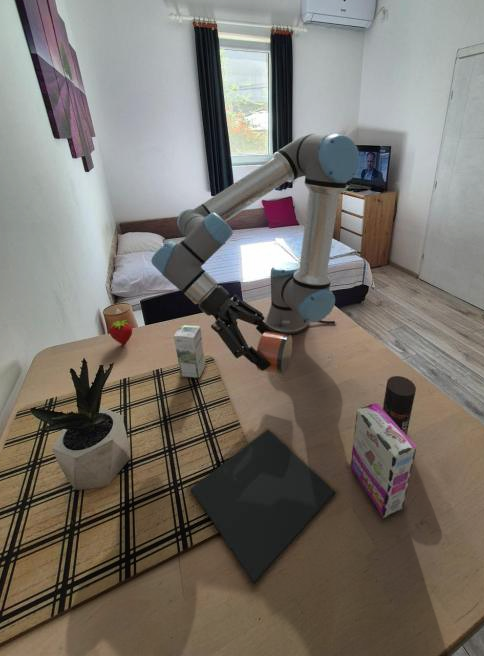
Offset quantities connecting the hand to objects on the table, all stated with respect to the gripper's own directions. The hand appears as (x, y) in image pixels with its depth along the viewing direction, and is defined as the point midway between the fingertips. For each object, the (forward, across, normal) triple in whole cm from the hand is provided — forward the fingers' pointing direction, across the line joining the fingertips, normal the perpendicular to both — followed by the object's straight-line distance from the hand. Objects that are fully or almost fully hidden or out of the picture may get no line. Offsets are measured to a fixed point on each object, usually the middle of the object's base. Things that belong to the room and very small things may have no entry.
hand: (271, 353), depth 83 cm
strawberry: (-29, -12, -47) cm, 56 cm away
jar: (0, 0, +1) cm, 1 cm away
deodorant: (+31, +9, +12) cm, 34 cm away
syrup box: (-9, -3, -26) cm, 28 cm away
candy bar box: (+27, +22, +9) cm, 36 cm away
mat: (+12, +27, -6) cm, 30 cm away
